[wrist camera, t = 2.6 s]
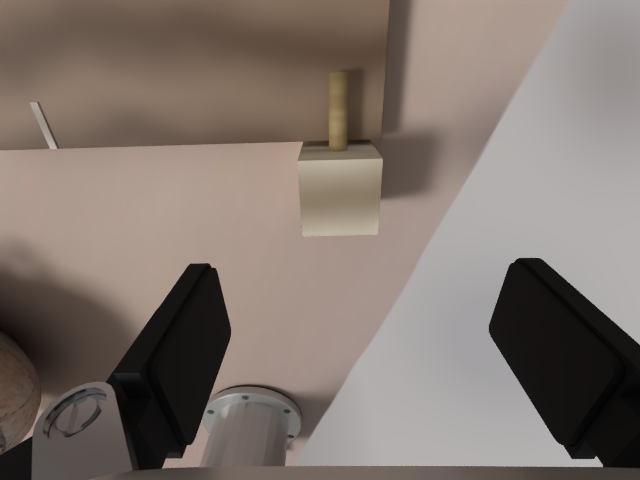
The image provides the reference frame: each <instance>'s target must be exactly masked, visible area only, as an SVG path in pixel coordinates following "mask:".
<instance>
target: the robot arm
mask: <svg viewBox="0 0 640 480" xmlns="http://www.w3.org/2000/svg"><path fill="white" fill-rule="evenodd" d="M489 333H490V335H491V337H492V339H493V341H494V342H495V344H496V345H497V347H498V349H499V350H500V352H501V353H502V355H503V357H504V358H505V360H506V362H507V363H508V365H509V366H510V368H511V370H512V371H513V373H514V374H515V376H516V378H517V379H518V381H519V382H520V384H521V385H522V387H523V389H524V390H525V392H526V394H527V395H528V397H529V399H530V400H531V402H532V403H533V405H534V406H535V408H536V410H537V411H538V413H539V414H540V416H541V418H542V419H543V421H544V423H545V424H546V426H547V428H548V429H549V431H550V432H551V434H552V435H553V437H554V438H555V440H556V441H557V442H558V443H559V444H561V445H564V447H565V449H566V450H567V452H568V453H569V455H570V457H571V458H572V459H594V458H595V457H596V456H597V457H598V458H599V460H600V461H601V463H602V464H603V467H494V466H489V467H488V466H484V467H483V466H479V467H478V466H470V467H469V466H285V461H286V450H287V444H289V443H290V442H291V441H293V440H294V439H295V438H296V437H297V435H298V434H299V432H300V429H301V414H300V411H299V409H298V408H297V406H296V405H295V404H294V403H293V402H292V401H291V400H290V399H288V398H287V397H285V396H284V395H282V394H280V393H277V392H275V391H272V390H269V389H265V388H259V387H235V388H231V389H227V390H224V391H222V392H220V393H218V394H216V395H215V396H213V397H212V398H211V399H210V400H209V397H210V394H211V392H212V389H213V386H214V383H215V380H216V377H217V375H218V372H219V369H220V366H221V363H222V360H223V358H224V355H225V352H226V349H227V346H228V343H229V341H230V337H231V327H230V322H229V318H228V314H227V310H226V306H225V302H224V298H223V294H222V290H221V285H220V281H219V277H218V273H217V270H216V268H211V266H210V264H208V263H205V264H190V265H189V266H188V267H187V268H186V270H185V271H184V273H183V274H182V275H181V277H180V278H179V280H178V281H177V283H176V284H175V285H174V287H173V288H172V290H171V291H170V293H169V294H168V295H167V297H166V298H165V300H164V301H163V303H162V304H161V305H160V307H159V308H158V309H157V310H156V311H155V313H154V314H153V316H152V317H151V319H150V320H149V321H148V323H147V324H146V326H145V327H144V329H143V330H142V331H141V333H140V334H139V336H138V337H137V338H136V340H135V341H134V343H133V344H132V346H131V347H130V348H129V350H128V351H127V353H126V354H125V356H124V357H123V358H122V360H121V361H120V363H119V364H118V366H117V367H116V368H115V370H114V371H113V373H112V374H111V376H110V377H109V378H108V380H107V381H106V383H105V382H90V383H85V384H83V385H80V386H78V387H75V388H73V389H71V390H70V391H68V392H66V393H64V394H63V395H61V396H60V397H59V398H57V399H56V400H55V401H54V402H53V403H51V404H50V405H49V406H48V407H47V409H46V410H45V411H44V412H43V413H42V414H41V416H40V417H39V419H38V421H37V422H36V424H35V427H34V431H33V436H32V437H30V438H28V439H27V440H25V441H23V442H21V443H20V444H18V445H16V446H15V447H13V448H11V449H9V450H8V451H6V452H4V453H3V454H1V455H0V480H640V345H639V344H638V343H637V342H636V341H635V340H634V339H632V338H631V337H630V336H629V335H628V334H627V333H626V332H624V331H623V330H622V329H621V328H620V327H619V326H618V325H616V324H615V323H614V322H613V321H611V319H610V318H608V317H607V316H606V315H605V314H604V313H603V312H601V311H600V310H599V309H598V308H597V307H596V306H595V305H594V304H592V303H591V302H590V301H589V300H588V299H587V298H586V297H584V296H583V295H582V294H581V293H580V292H579V291H578V290H576V289H575V288H574V287H573V286H572V285H571V284H570V283H568V282H567V281H566V280H565V279H564V278H563V277H562V276H560V275H559V274H558V273H557V272H556V271H555V270H554V269H552V268H551V267H550V266H549V265H548V264H547V263H545V262H544V261H543V260H542V259H540V258H519V259H517V260H516V261H515V262H514V263H511V264H510V266H509V268H508V271H507V274H506V277H505V280H504V283H503V286H502V288H501V291H500V294H499V297H498V300H497V303H496V306H495V309H494V312H493V315H492V318H491V321H490V324H489ZM208 400H209V401H208ZM202 417H203V424H204V426H205V428H206V430H207V431H208V433H209V434H210V435H209V438H208V441H207V444H206V447H205V450H204V454H203V457H202V460H201V463H200V466H199V467H194V468H164V469H161V468H162V466H163V464H164V462H165V459H166V458H182V457H183V454H184V452H185V449H186V446H187V445H191V444H192V443H193V441H194V439H195V437H196V434H197V431H198V428H199V426H200V423H201V420H202Z"/></svg>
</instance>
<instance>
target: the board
mask: <svg viewBox="0 0 640 480" xmlns="http://www.w3.org/2000/svg"><path fill="white" fill-rule="evenodd" d="M389 6H390V0H0V150H26V149H60V148H94V147H128V146H163V145H197V144H231V143H265V142H299V141H329V108H328V73H333V72H348V121H347V140H368V139H381V130H382V114H383V99H384V83H385V68H386V52H387V37H388V21H389Z"/></svg>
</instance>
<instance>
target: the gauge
mask: <svg viewBox="0 0 640 480" xmlns="http://www.w3.org/2000/svg"><path fill="white" fill-rule="evenodd" d="M328 108H329V141H313V142H303V145H302V148H301V151H300V155H299V158H298V175H299V191H300V206H301V221H302V236H338V235H378V224H379V210H380V196H381V181H382V167H383V158H382V156H381V155H380V154H379V152H378V151H377V150H376V148H375V147H374V146H373V144H372V143H371V141H370V140H347V121H348V72H333V73H328Z"/></svg>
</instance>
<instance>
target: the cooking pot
mask: <svg viewBox="0 0 640 480" xmlns="http://www.w3.org/2000/svg"><path fill="white" fill-rule="evenodd" d="M40 402H41V386H40V381H39V378H38V375H37V372H36V370H35V368H34V366H33V365H32V363H31V361H30V360H29V358H28V357H27V356H26V354H25V353H24V352H23V350H22V349H21V348H20V347H19V345H18V344H17V342H16V341H15V340H14V339H13V338H12V337H11V336H10V335H9V334H8V333H6V332H5V331H4V330H2V329H0V455H1V454H3V453H4V452H6V451H8V450H9V449H11V448H13V447H15V446H16V445H18V444H19V443H20V442H21V441H22V440H23V438H24V437H25V436H26V435H27V433H28V432H29V431H30V429H31V427H32V426H33V423H34V421H35V419H36V416H37V413H38V409H39V406H40Z"/></svg>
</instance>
